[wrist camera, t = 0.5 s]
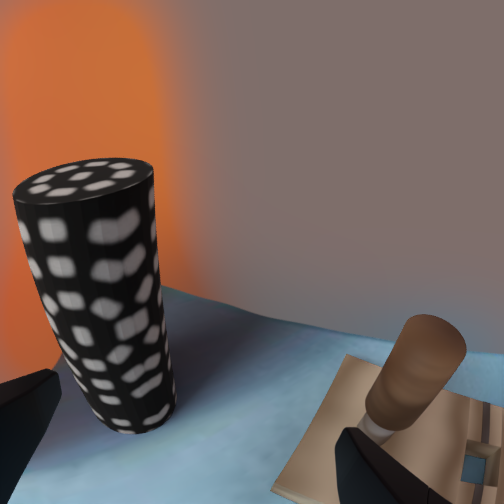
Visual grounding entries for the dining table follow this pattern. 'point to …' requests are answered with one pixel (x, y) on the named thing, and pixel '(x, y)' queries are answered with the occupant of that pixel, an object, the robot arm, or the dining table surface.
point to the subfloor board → (400, 443)
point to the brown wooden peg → (412, 376)
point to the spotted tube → (102, 284)
